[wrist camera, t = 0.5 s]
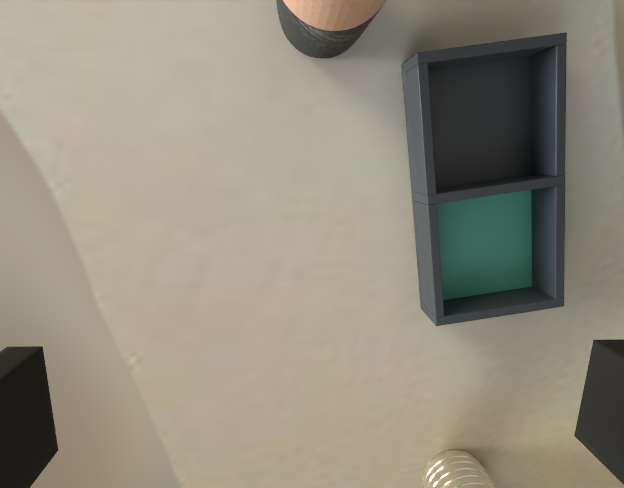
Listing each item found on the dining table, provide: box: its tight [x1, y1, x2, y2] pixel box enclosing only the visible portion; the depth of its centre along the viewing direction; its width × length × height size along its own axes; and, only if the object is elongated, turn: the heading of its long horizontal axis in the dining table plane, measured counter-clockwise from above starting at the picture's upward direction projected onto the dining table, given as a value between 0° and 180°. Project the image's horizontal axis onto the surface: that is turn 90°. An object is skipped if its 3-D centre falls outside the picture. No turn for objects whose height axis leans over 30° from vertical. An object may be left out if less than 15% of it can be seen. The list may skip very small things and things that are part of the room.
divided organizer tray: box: [402, 33, 567, 326], centre depth 34 cm, size 22×12×4 cm, turn 8°
